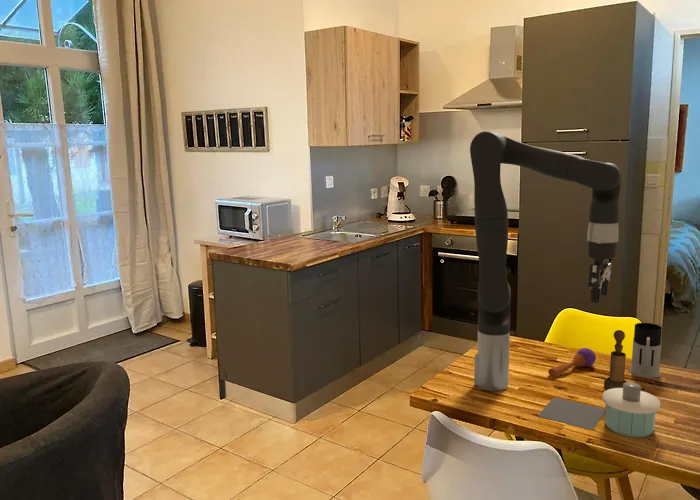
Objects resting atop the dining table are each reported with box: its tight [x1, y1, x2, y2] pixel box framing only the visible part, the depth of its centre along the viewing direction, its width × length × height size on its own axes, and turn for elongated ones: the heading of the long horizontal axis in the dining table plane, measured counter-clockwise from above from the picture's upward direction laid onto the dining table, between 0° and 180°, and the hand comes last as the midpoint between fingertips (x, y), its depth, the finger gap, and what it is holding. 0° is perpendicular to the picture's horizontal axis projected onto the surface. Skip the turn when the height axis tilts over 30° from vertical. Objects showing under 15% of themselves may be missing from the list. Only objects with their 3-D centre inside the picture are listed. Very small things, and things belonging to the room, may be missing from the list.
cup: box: [604, 403, 657, 438], centre depth 146 cm, size 11×11×7 cm
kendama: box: [547, 347, 597, 379], centre depth 184 cm, size 6×6×20 cm
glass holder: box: [629, 322, 663, 379], centre depth 177 cm, size 9×14×15 cm, turn 154°
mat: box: [537, 396, 606, 431], centre depth 154 cm, size 14×14×1 cm
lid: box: [602, 381, 661, 414], centre depth 145 cm, size 13×13×4 cm
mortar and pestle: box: [603, 329, 627, 391], centre depth 167 cm, size 7×6×18 cm
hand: (599, 298), depth 155 cm, fingers open, 8 cm apart
